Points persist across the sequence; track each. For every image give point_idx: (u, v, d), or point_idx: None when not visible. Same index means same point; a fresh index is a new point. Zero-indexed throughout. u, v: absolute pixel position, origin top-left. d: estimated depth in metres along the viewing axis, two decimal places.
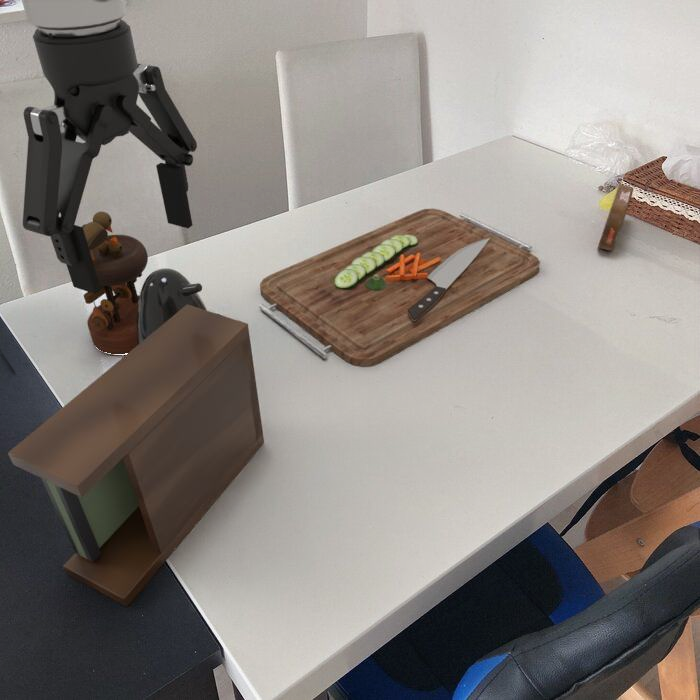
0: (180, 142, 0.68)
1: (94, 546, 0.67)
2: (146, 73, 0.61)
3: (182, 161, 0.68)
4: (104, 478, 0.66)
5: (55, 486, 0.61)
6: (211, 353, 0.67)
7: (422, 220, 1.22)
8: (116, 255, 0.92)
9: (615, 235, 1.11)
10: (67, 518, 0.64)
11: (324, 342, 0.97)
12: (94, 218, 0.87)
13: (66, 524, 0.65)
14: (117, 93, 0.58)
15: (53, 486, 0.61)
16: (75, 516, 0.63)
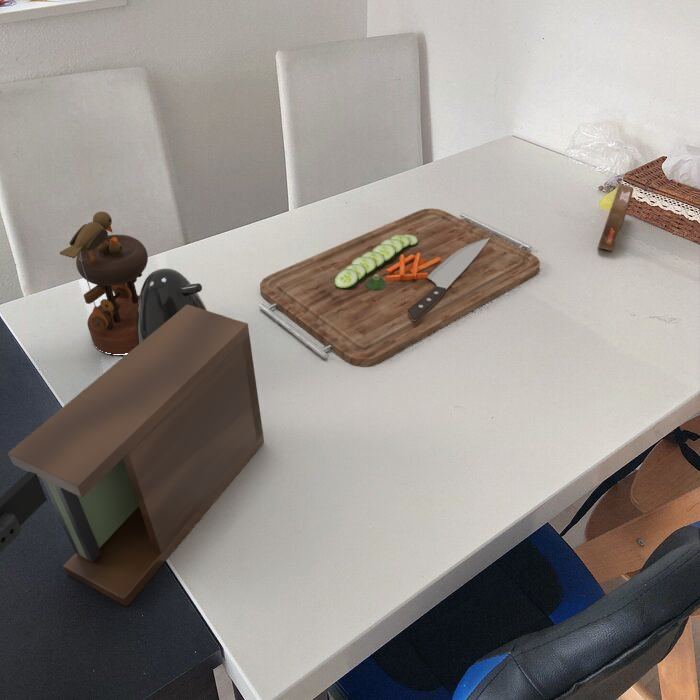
0: None
1: (94, 546, 0.67)
2: None
3: None
4: (104, 478, 0.66)
5: (55, 486, 0.61)
6: (211, 353, 0.67)
7: (422, 220, 1.22)
8: (116, 255, 0.92)
9: (615, 235, 1.11)
10: (67, 518, 0.64)
11: (324, 342, 0.97)
12: (94, 218, 0.87)
13: (66, 524, 0.65)
14: None
15: (53, 486, 0.61)
16: (75, 516, 0.63)
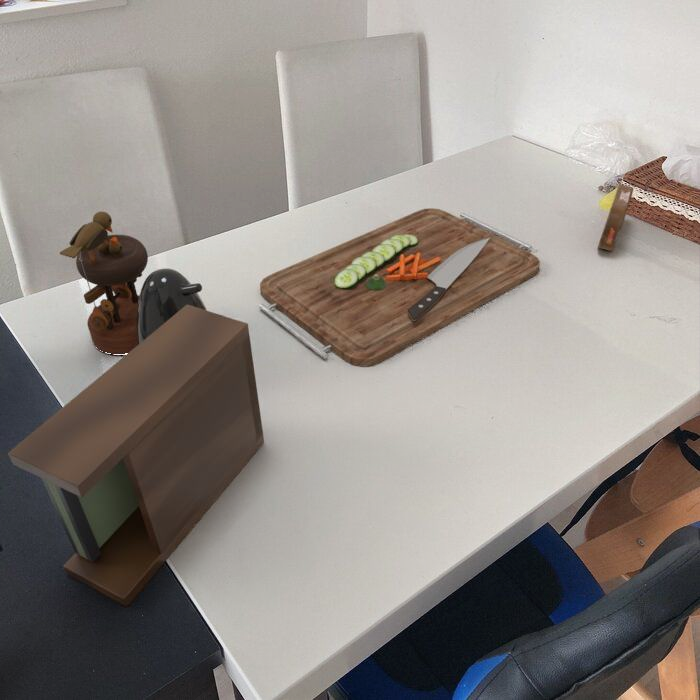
0: None
1: (94, 546, 0.67)
2: None
3: None
4: (104, 478, 0.66)
5: (55, 486, 0.61)
6: (211, 353, 0.67)
7: (422, 220, 1.22)
8: (116, 255, 0.92)
9: (615, 235, 1.11)
10: (67, 518, 0.64)
11: (324, 342, 0.97)
12: (94, 218, 0.87)
13: (66, 524, 0.65)
14: None
15: (53, 486, 0.61)
16: (75, 516, 0.63)
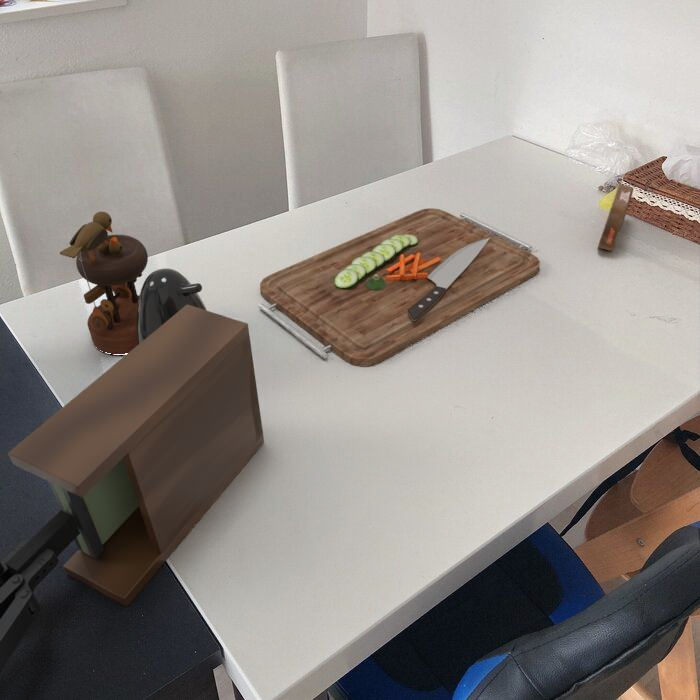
0: None
1: (97, 543, 0.67)
2: None
3: None
4: (107, 475, 0.67)
5: None
6: (211, 353, 0.67)
7: (422, 220, 1.22)
8: (116, 255, 0.92)
9: (615, 235, 1.11)
10: (71, 514, 0.64)
11: (324, 342, 0.97)
12: (94, 218, 0.87)
13: None
14: None
15: None
16: (79, 512, 0.64)
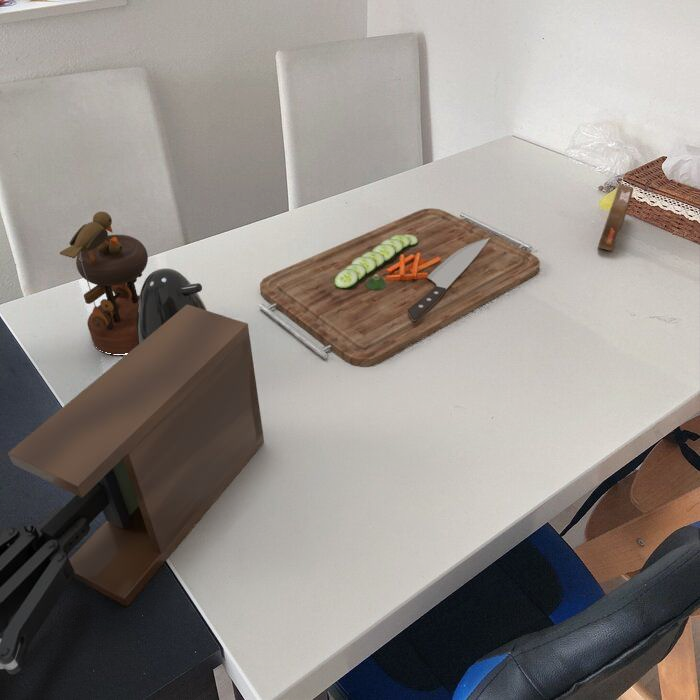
0: None
1: (124, 514, 0.70)
2: None
3: None
4: None
5: None
6: (211, 353, 0.67)
7: (422, 220, 1.22)
8: (116, 255, 0.92)
9: (615, 235, 1.11)
10: (101, 485, 0.67)
11: (324, 342, 0.97)
12: (94, 218, 0.87)
13: None
14: None
15: None
16: (109, 483, 0.66)
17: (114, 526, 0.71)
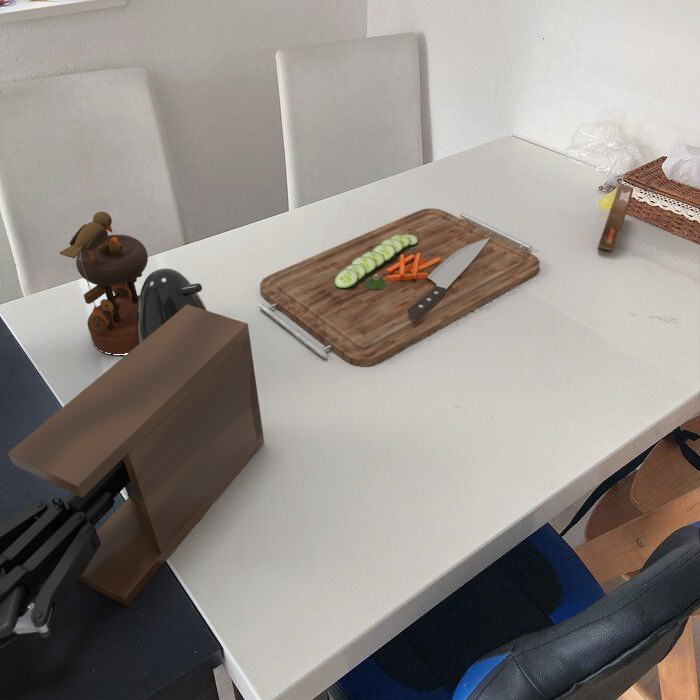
0: None
1: None
2: None
3: None
4: None
5: None
6: (211, 353, 0.67)
7: (422, 220, 1.22)
8: (116, 255, 0.92)
9: (615, 235, 1.11)
10: None
11: (324, 342, 0.97)
12: (94, 218, 0.87)
13: None
14: None
15: None
16: None
17: (114, 526, 0.71)
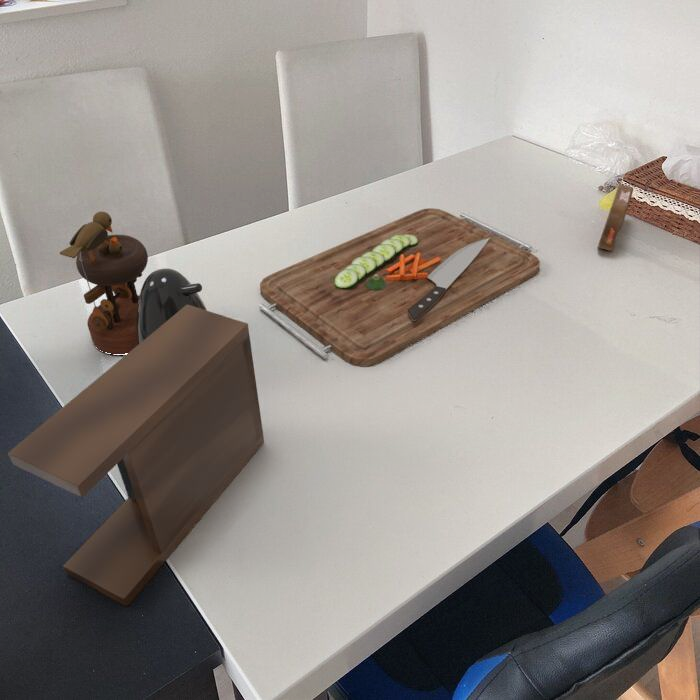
0: None
1: None
2: None
3: None
4: None
5: None
6: (211, 353, 0.67)
7: (422, 220, 1.22)
8: (116, 255, 0.92)
9: (615, 235, 1.11)
10: None
11: (324, 342, 0.97)
12: (94, 218, 0.87)
13: (122, 468, 0.70)
14: None
15: None
16: None
17: (114, 526, 0.71)
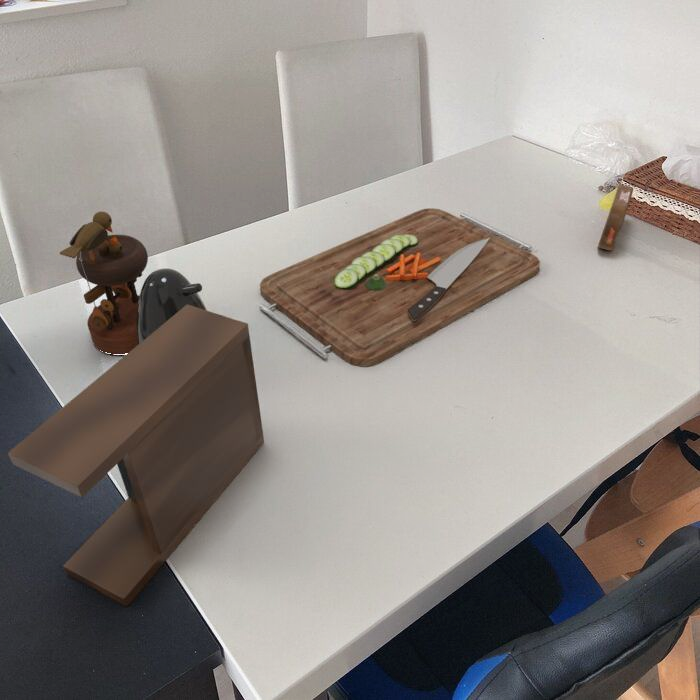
0: None
1: None
2: None
3: None
4: None
5: None
6: (211, 353, 0.67)
7: (422, 220, 1.22)
8: (116, 255, 0.92)
9: (615, 235, 1.11)
10: None
11: (324, 342, 0.97)
12: (94, 218, 0.87)
13: (122, 468, 0.70)
14: None
15: None
16: None
17: (114, 526, 0.71)
